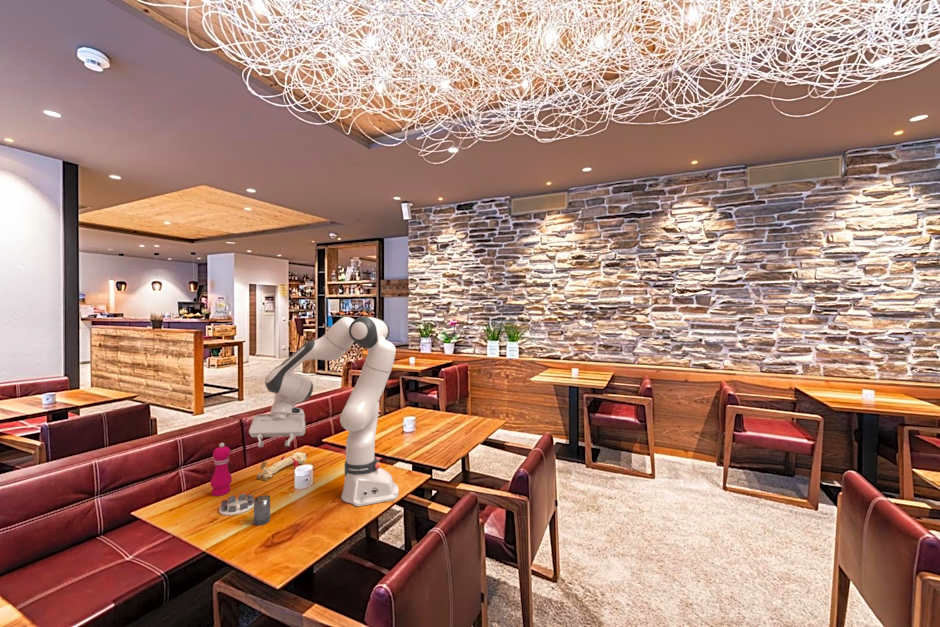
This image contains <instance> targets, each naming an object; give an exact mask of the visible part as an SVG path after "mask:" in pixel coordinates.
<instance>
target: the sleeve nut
mask: <svg viewBox="0 0 940 627" xmlns="http://www.w3.org/2000/svg"><path fill="white" fill-rule="evenodd" d="M270 521H271V496H270V495H269V494H268V495H266V494H265V495H264V494H263V495H260V496H257V497H254V507H253V525H254V526H264V525H266V524H268V523H269V522H270Z"/></svg>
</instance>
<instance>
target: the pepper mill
mask: <svg viewBox="0 0 940 627" xmlns="http://www.w3.org/2000/svg"><path fill="white" fill-rule="evenodd" d="M230 456H231V449H230V447H228V446H225V443H224V442H220V443H219V445H218V447H216V448H214V450H213V453H212V457H213V458H214V460H213V461H214V463H213V465H214V466H215V469H214V473H213V475H212V476H211V477H212V478H211V480H210V486H211V488H212V490H211V495H212V496H213V497H221V496H224V495H226V494H228V493H230V491H231V484H232V481H233V478H232V474H231V473H230V471H229V467H228V466H229V465H228V464H229V462H230Z"/></svg>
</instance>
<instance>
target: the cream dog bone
mask: <svg viewBox="0 0 940 627" xmlns="http://www.w3.org/2000/svg"><path fill="white" fill-rule="evenodd" d="M307 458H308V454H307V453H305V452H301V451H297V452H295V453H293V454H292V455H289V456H288V457H286V455H284V456H282V457H281V458H280V460H279V461H278V462H275V463H273V464H272V465H271V466H269V467H266V466H267V463H268V462H267V461H263V462H262V463H261V465H260V466H259V467H260V470H262V471H261V472H258V473H257V474H256V476H255V477H256V479H257V480H261V479H262V481H264V482H267V481H268V480H269V479H271V478H272V477H273V475H274V474H276V473H277V472H279V471H280V470H281V469H283V468H285V467H287V466H288V467H289V466H290V465H293V468H292V469H294V470H295V469H296V468H297V466H298V465H300V464H301V465H303V464H304V463H305V462H306V460H307ZM295 467H296V468H295Z"/></svg>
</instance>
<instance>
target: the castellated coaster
mask: <svg viewBox="0 0 940 627" xmlns="http://www.w3.org/2000/svg"><path fill="white" fill-rule="evenodd" d="M254 499H255V497H254V494H251V493H250V494H248V495H247V493H240V494H239V495H238V498H236V496H235V495H231V496H229V497H228V496H227V499H223V500H222V501H221V503H220V506H219V508H218V512H219V514H220V515H222V516H236V515H237V516H238V515H241V514H244V513H246V512H248V511H250V510H252V509H254Z"/></svg>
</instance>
